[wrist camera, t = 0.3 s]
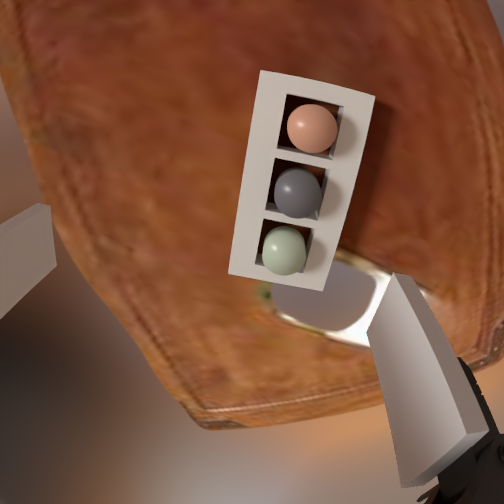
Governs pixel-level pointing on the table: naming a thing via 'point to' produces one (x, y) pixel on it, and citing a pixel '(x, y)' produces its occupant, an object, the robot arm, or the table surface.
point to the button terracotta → (312, 128)
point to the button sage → (284, 251)
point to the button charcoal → (297, 193)
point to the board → (266, 150)
